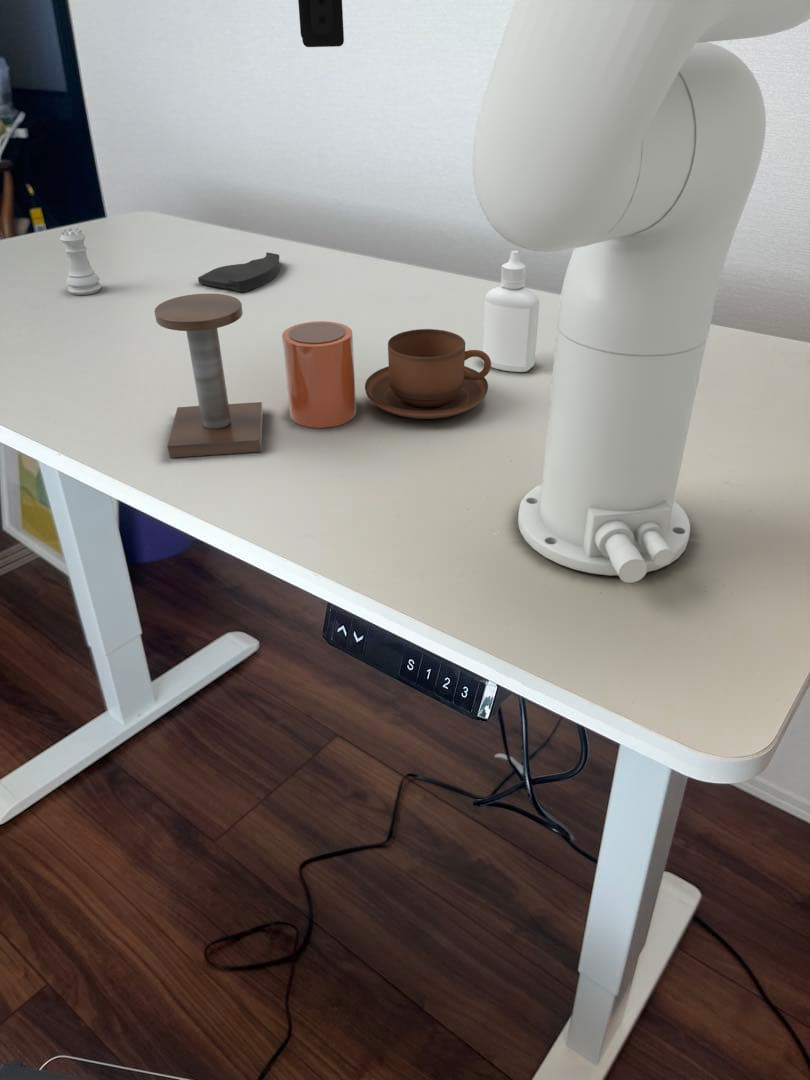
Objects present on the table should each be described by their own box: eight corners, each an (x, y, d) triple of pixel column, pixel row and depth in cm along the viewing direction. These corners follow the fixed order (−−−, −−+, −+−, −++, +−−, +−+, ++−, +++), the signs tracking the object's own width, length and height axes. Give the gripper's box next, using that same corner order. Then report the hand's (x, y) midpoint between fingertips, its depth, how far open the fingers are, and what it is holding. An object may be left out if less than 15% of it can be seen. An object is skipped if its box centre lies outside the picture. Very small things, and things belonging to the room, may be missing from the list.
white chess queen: (68, 287, 113) (53, 227, 108) (102, 284, 114) (88, 224, 109) (67, 297, 109) (52, 235, 105) (102, 294, 110) (88, 232, 106)
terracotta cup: (358, 425, 77) (354, 343, 72) (290, 430, 76) (281, 347, 72) (354, 397, 82) (349, 318, 77) (289, 401, 81) (281, 322, 77)
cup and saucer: (457, 371, 87) (458, 314, 84) (508, 417, 78) (512, 355, 74) (349, 388, 84) (346, 330, 80) (390, 439, 74) (388, 375, 71)
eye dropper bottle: (506, 378, 85) (514, 261, 78) (476, 360, 89) (480, 248, 82) (540, 369, 87) (549, 254, 80) (508, 352, 91) (515, 242, 84)
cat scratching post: (261, 452, 73) (244, 320, 66) (169, 458, 72) (142, 325, 65) (263, 413, 79) (248, 289, 72) (179, 418, 79) (156, 294, 72)
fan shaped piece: (304, 268, 119) (303, 257, 118) (241, 294, 109) (239, 282, 108) (260, 260, 122) (259, 249, 121) (195, 284, 113) (193, 272, 112)
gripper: (254, -216, 65) (276, 37, 74) (245, -271, 51) (274, 51, 60) (349, -215, 65) (358, 35, 75) (366, -269, 51) (375, 48, 61)
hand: (321, 42), depth 68 cm, fingers open, 9 cm apart
